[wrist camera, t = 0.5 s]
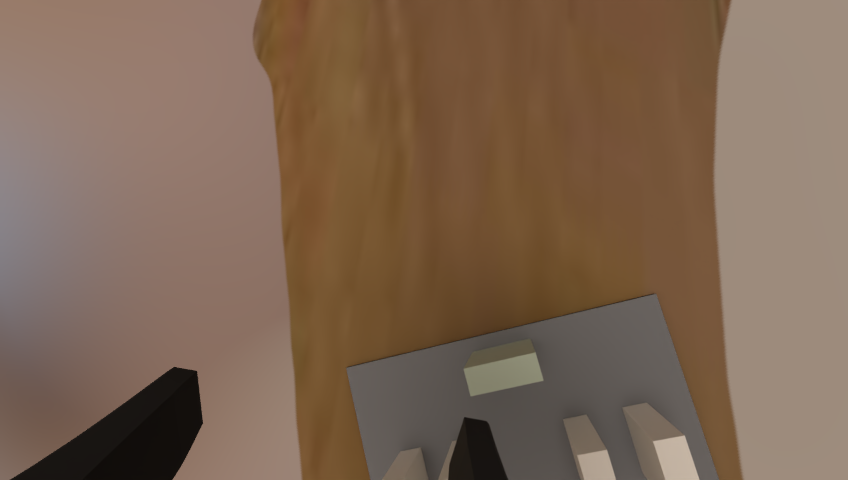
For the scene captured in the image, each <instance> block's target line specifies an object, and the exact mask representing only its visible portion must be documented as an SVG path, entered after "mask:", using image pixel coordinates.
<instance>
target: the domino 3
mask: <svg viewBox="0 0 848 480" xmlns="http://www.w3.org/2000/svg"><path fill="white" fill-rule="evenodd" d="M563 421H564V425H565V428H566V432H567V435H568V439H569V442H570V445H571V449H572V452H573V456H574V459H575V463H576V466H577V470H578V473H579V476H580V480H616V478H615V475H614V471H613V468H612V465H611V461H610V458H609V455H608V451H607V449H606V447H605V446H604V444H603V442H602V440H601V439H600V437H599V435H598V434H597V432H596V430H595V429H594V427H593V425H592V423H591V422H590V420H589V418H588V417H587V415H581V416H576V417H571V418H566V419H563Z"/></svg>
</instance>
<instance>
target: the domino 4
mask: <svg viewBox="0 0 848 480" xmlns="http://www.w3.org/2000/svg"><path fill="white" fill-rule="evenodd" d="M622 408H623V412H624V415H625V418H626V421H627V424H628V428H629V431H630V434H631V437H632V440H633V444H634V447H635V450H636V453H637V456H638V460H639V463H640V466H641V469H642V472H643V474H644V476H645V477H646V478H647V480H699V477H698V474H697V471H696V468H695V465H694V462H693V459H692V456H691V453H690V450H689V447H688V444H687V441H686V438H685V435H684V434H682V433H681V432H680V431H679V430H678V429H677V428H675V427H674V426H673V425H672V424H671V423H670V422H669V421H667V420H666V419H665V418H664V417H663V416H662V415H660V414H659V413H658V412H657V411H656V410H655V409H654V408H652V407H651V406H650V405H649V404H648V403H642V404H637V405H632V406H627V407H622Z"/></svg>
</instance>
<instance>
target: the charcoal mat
mask: <svg viewBox="0 0 848 480" xmlns="http://www.w3.org/2000/svg"><path fill="white" fill-rule="evenodd" d="M526 339H531V342H532V344H533V347H534V350H535V352H536V356H537V359H538V363H539V366H540V370H541V373H542V377H543V380H544V381H540V382H535V383H531V384H526V385H522V386H517V387H512V388H508V389H503V390H498V391H494V392H489V393H484V394H480V395H475V396H470V392H469V388H468V384H467V380H466V377H465V373H464V367H465V365H466V363H467V361H468V359H469V358H470V356H471V354H472V352H474V351H479V350H483V349H487V348H491V347H496V346H500V345H504V344H509V343H513V342H517V341H521V340H526ZM346 369H347V374H348V378H349V383H350V388H351V392H352V397H353V401H354V406H355V411H356V415H357V420H358V424H359V429H360V433H361V438H362V443H363V447H364V452H365V456H366V461H367V466H368V470H369V475H370V479H371V480H382V479H383V477H384V476H385V474H386V473H387V471H388V470H389V468H390V466H391V465H392V463H393V462H394V460H395V459H396V457H397V456H398V454H399V453H400V451H405V450H410V449H415V448H420V447H421V451H422V455H423V459H424V463H425V467H426V472H427V476H428V480H438V479H439V476H440V473H441V470H442V468H443V465H444V462H445V459H446V457H447V454H448V451H449V448H450V446H451V443H452V441H455V440H457V438H458V435H459V432H460V429H461V426H462V422H463V419H464V417H467V418H473V419H479V420H484V421H487V422H488V423H489V425H490V428H491V432H492V435H493V438H494V441H495V444H496V447H497V450H498V453H499V456H500V459H501V461H502V464H503V467H504V470H505V472H506V475H507V478H508V480H580V476H579V473H578V470H577V466H576V463H575V459H574V456H573V452H572V449H571V445H570V442H569V439H568V435H567V432H566V428H565V425H564V421H563V419H566V418H571V417H576V416H581V415H587V417H588V418H589V420H590V422H591V423H592V425H593V427H594V429H595V430H596V432H597V434H598V435H599V437H600V439H601V440H602V442H603V444H604V446H605V447H606V449H607V451H608V455H609V458H610V461H611V465H612V468H613V471H614V475H615V478H616V480H647V478H646V477H645V476H644V474H643V472H642V469H641V466H640V463H639V460H638V456H637V453H636V450H635V447H634V444H633V440H632V437H631V434H630V431H629V428H628V424H627V421H626V418H625V415H624V412H623V408H622V407H627V406H632V405H637V404H642V403H648V404H649V405H650V406H651V407H652V408H654V409H655V410H656V411H657V412H658V413H659V414H660V415H662V416H663V417H664V418H665V419H666V420H667V421H669V422H670V423H671V424H672V425H673V426H674V427H675V428H677V429H678V430H679V431H680V432H681V433H682V434H684V435H685V438H686V441H687V444H688V447H689V450H690V453H691V456H692V459H693V462H694V465H695V468H696V471H697V474H698V477H699V480H719V478H718V475H717V472H716V469H715V466H714V463H713V460H712V457H711V455H710V452H709V449H708V446H707V443H706V440H705V437H704V434H703V431H702V428H701V425H700V422H699V419H698V416H697V413H696V410H695V407H694V404H693V401H692V398H691V395H690V393H689V390H688V387H687V384H686V381H685V378H684V375H683V372H682V369H681V366H680V363H679V360H678V357H677V354H676V351H675V348H674V345H673V342H672V339H671V336H670V333H669V330H668V328H667V325H666V322H665V319H664V316H663V313H662V310H661V307H660V304H659V301H658V298H657V295H656V294H651V295H647V296H643V297H639V298H635V299H631V300H626V301H622V302H618V303H614V304H610V305H605V306H601V307H597V308H593V309H589V310H585V311H580V312H576V313H572V314H568V315H564V316H560V317H555V318H551V319H547V320H543V321H539V322H534V323H530V324H526V325H522V326H518V327H514V328H509V329H505V330H501V331H497V332H493V333H489V334H484V335H480V336H476V337H472V338H468V339H463V340H459V341H455V342H451V343H447V344H443V345H438V346H434V347H430V348H426V349H422V350H418V351H413V352H409V353H405V354H401V355H397V356H392V357H388V358H384V359H380V360H376V361H372V362H367V363H363V364H359V365H355V366H351V367H347V368H346Z"/></svg>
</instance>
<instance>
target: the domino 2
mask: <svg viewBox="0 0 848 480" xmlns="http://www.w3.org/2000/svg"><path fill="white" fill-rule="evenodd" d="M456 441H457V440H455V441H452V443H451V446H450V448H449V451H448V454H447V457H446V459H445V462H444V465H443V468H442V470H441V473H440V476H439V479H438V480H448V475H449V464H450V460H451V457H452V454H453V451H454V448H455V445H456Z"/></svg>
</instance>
